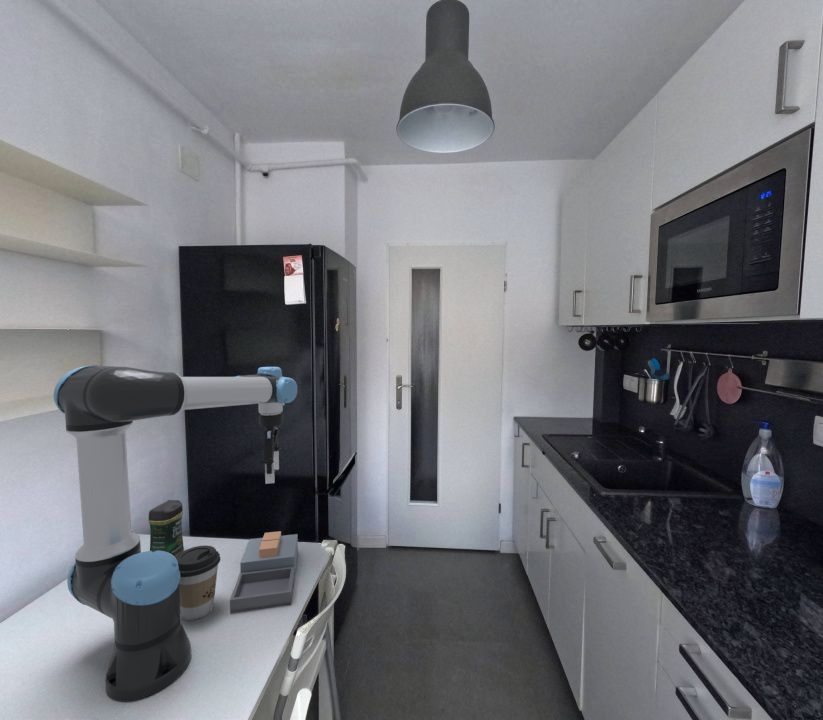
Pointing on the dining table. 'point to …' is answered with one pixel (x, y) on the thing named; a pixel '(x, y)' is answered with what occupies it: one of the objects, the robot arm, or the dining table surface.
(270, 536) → the tile rear
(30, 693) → the dining table surface
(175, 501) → the coffee jar
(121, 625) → the robot arm
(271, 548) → the tile front
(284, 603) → the box
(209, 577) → the coffee cup
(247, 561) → the blue-grey square block
